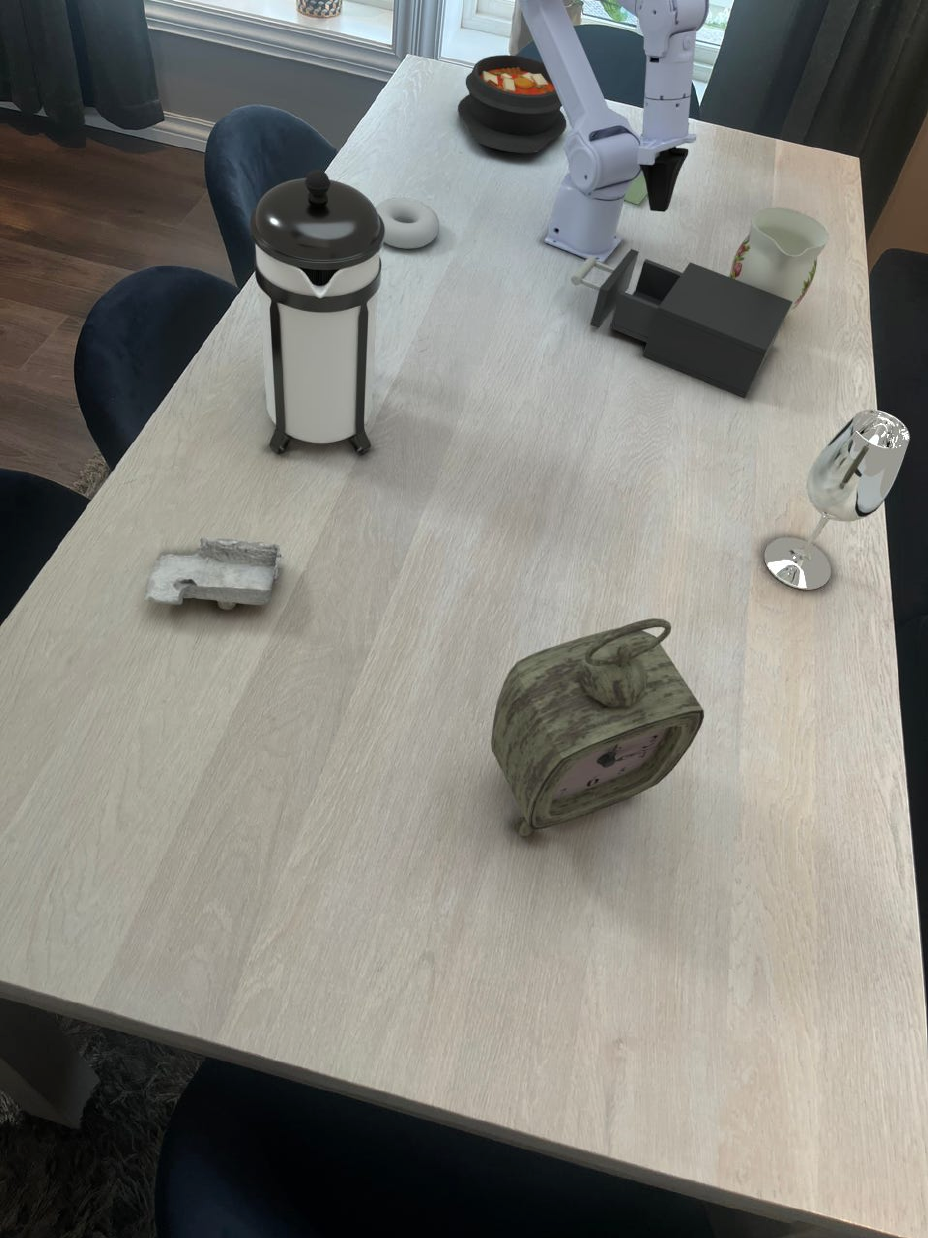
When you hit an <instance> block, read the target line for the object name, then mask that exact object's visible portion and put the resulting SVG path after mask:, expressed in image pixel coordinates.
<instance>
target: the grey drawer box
mask: <svg viewBox="0 0 928 1238" xmlns="http://www.w3.org/2000/svg"><path fill="white" fill-rule="evenodd" d="M681 273H682V274H681V276H680V277H679V279H678V280H677V282H676V283H675V284H674V286H673V287H672V289H671V290H670V292H669V293H668V294H667V296H666V297H665V299H664V300H663V302H662V303H661V304H660V306H659V307H658V310H657V313H656V316H655V319H654V322H653V325H652V328H651V332H650V335H649V338H648V341H647V343H646V344H645V347H644V350H643V353H642V357H644V358H647V359H648V360H651V361H654V362H656V363H658V364H661V365H664V366H666V367H668V368H671V369H673V370H676V371H678V372H681V373H683V374H685V375H688V376H690V377H692V378H695V379H698V380H700V381H703V382H705V383H707V384H710V385H712V386H715V387H717V388H719V389H722V390H723V391H726V392H729V393H731V394H734V395H736V396H739V397H741V398H744V399H746V398H747V396H748V393H749V392H750V390H751V388H752V386H753V384H754V382H755V381H756V378H757V376H758V375H759V373H760V371H761V369H762V367H763V365H764V364H765V362H766V360H767V357H768V356H769V354H770V352H771V350H772V348H773V346H774V343H775V342H776V339H777V337H778V335H779V333H780V331H781V328H782V326H783V324H784V323H785V319H786V318H787V317H788V315H787V313H788V311H789V309H790V307H791V305H792V303H793V302H792V301H790V300H787V299H784V298H782V297H779V296H777V295H774V294H771V293H769V292H766V291H764V290H761V289H758V288H756V287H753V286H751V285H748V284H746V283H743V282H740V281H738V280H735V279H733V278H730V277H729V276H727V275H724V274H722V273H719V272H717V271H714V270H712V269H710V268H708V267H707V268H706V267H704V266H701V265H699V264H696V263H693V262H689V263H688V265H687V266H686V267H685V269H684V270H683V272H681Z"/></svg>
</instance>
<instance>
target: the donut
mask: <svg viewBox="0 0 928 1238" xmlns="http://www.w3.org/2000/svg"><path fill="white" fill-rule="evenodd" d="M374 207H375V209H376V211H377V213H378V214H379V216H380V217H381V219H382V221H383V223H384V227H385V237H384V244H387V245H388V246H392V247H395V248H399V249H417V248H423V247H425V246H426V245H428V244H431V243H432V242H433V241H434V240H435V239H436V238H437V236H438V234H439V230H440V221H439V217H438V215H437V213H436V212H435V211H434V209H433V208H431V206H430V205H428V204H426V203H424V202H423V201H421V200H417V199H414V198H409V197H408V198H407V197H394V198H388V199H385V200H384V201H381V202H380V203H378V204H377V205H375V206H374Z"/></svg>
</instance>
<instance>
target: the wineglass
mask: <svg viewBox="0 0 928 1238" xmlns="http://www.w3.org/2000/svg"><path fill="white" fill-rule="evenodd" d="M910 440H911V436H910V432H909V430H908V428H907V427H906V425H905V423H903V422H902V421H901V420H900V419H898V418H897V417H896V416H894V415H892V414H891V413H890V414H889V413H888V412H885V411H881V410H877V409H864V410H861V411H858V412H857V413H855V414H854V416H853V417H852V418H850V419H849V421H848V422H847V423H846V424H844V426H842V427H841V429H840V430H839V431H838V432H837V433H836V434H835V435H834V436H833V437H832V439H831V440H830V441H829V442H828V443H827V444H826V445H825V446H824V448H823V449H822V450H821V451H820V453H818V456H817V457H816V458H815V460H814V461H813V463H812V465H811V467H810V469H809V472H808V474H807V476H806V477H807V479H806V492H807V495H808V499H809V501H810V503H811V505H812V506H813V508H814V509H815V510H816V511H817V512H818V513H819V514H820V515H821V516H820V519H819V521H818V523H817V524H816V526H815V528H814V530H813V531H812V533H811V535H810V536H809V538H808V539H807V541H806V540H804V539H801V538H797V537H789V536H788V537H785V536H784V537H779V538H776V539H774V540H772V541H771V542H769V544H768V545H766V548H765V550H764V553H763V554H764V562H765V565H766V567H767V569H768V570H769V572H770V573H771V574H772V575H773V576H774V577H775V578H776V579H777V580H778V581H780V582H782V583H783V584H784V585H787V586H789V587H791V588H795V589H798V590H804V591H808V590H809V591H812V590H816V589H817V590H818V589H819V588H821V587H824V586H825V585H826V584H827V583H828V581H829V580H830V578H831V575H832V574H831V573H832V568H831V564H830V562H829V560H828V558H827V556H826V555H825V554H824V553H823V552H822V551H821V550H820V549H819V548H817V546H816V545H814V544H815V543H816V541H817V539H818V537H819V536H820V534H821V533H822V531H823V530H824V528H825V527H826V525H827V524H828V523H829V522H830V521H836V522H843V523H851V522H855V521H858V520H862V519H865V518H867V517H868V516H870V515H871V514H873V513H875V512H876V511H877V510H878V509H879V508H880V506H881V505H882V504H883V503H884V501H885V500H886V499H887V497H888V495H889V494H890V492H891V490H892V487H893V486H894V483H895V481H896V478H897V477H898V474H899V472H900V469H901V466H902V464H903V460H904V457H905V455H906V452H907V449H908V445H909V443H910Z"/></svg>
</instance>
